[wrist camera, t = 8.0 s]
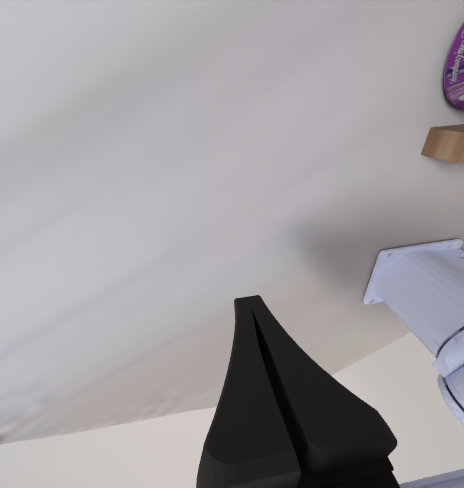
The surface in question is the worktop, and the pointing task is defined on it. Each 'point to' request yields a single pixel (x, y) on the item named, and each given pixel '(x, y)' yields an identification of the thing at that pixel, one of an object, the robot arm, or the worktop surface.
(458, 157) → the pin nest
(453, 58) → the beverage can
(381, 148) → the worktop surface
